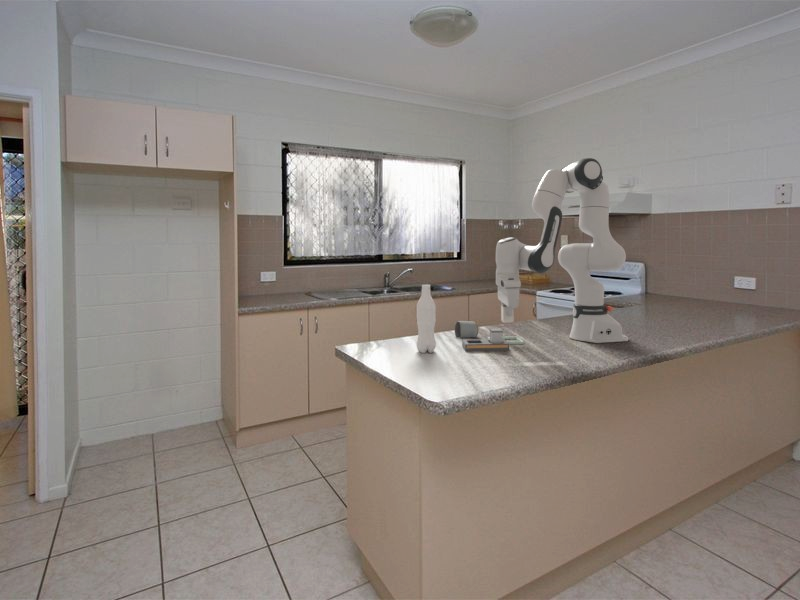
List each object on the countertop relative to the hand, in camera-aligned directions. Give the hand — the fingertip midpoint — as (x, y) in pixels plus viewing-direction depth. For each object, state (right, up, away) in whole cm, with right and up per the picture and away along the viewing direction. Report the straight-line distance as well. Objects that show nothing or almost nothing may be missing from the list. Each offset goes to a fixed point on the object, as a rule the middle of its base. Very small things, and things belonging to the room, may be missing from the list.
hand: (507, 314), depth 193 cm
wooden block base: (-10, -13, -10) cm, 19 cm away
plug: (0, -3, 0) cm, 3 cm away
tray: (-1, -12, +1) cm, 12 cm away
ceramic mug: (-15, -10, +13) cm, 23 cm away
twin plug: (-7, -12, -10) cm, 17 cm away
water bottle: (-32, -14, -10) cm, 37 cm away
